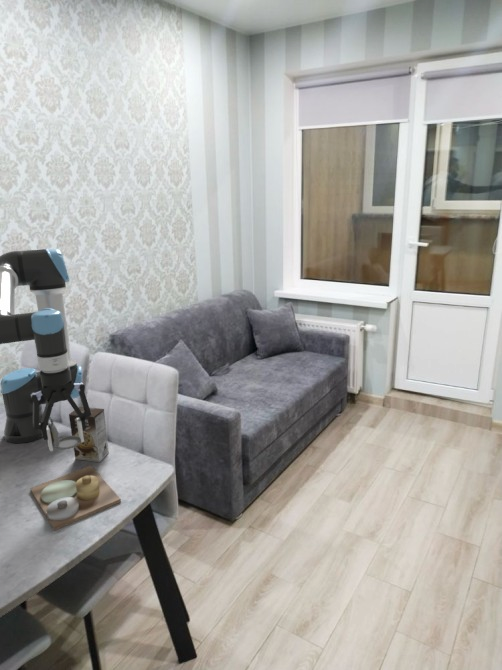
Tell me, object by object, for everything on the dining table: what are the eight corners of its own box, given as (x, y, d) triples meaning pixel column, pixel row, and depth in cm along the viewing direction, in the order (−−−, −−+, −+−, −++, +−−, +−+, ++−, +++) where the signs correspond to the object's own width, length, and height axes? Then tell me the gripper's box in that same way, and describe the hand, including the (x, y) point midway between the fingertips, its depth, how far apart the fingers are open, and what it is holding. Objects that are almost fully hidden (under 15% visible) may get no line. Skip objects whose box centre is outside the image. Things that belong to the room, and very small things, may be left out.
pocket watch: (86, 440, 135) (81, 408, 132) (66, 455, 128) (61, 422, 125) (62, 436, 138) (57, 405, 135) (41, 451, 130) (36, 418, 127)
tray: (30, 491, 138) (27, 472, 136) (91, 468, 148) (89, 450, 147) (54, 530, 121) (50, 509, 119) (120, 501, 132) (118, 482, 130)
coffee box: (74, 459, 153) (67, 414, 149) (85, 449, 159) (79, 405, 155) (99, 462, 151) (93, 416, 147) (109, 452, 157) (104, 407, 153)
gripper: (14, 381, 118) (29, 461, 125) (97, 364, 128) (106, 439, 135) (10, 372, 124) (25, 449, 131) (90, 356, 135) (99, 429, 141)
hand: (66, 444), depth 133 cm, fingers closed on pocket watch, 8 cm apart
